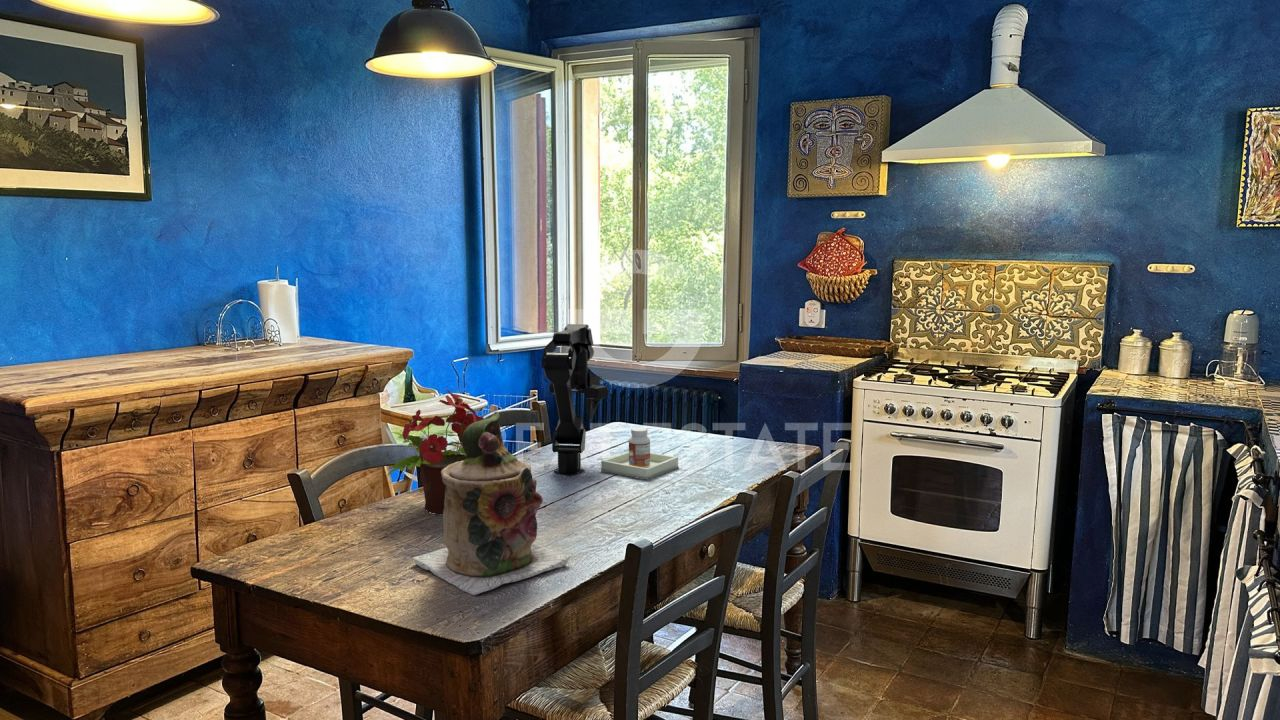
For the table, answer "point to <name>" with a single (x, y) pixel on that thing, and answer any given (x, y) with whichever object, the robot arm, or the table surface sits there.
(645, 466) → the pill bottle
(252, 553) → the table surface
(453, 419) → the potted plant
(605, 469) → the tray
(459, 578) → the cookie jar
